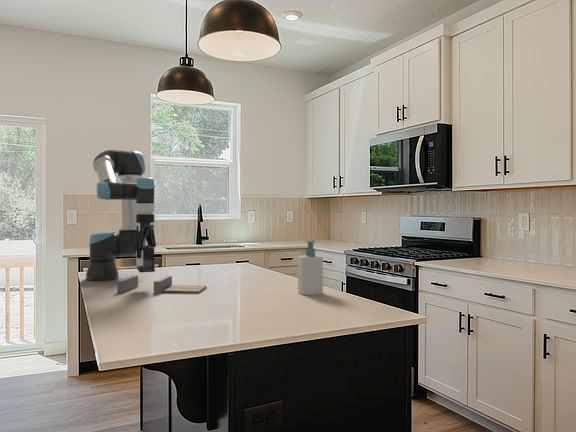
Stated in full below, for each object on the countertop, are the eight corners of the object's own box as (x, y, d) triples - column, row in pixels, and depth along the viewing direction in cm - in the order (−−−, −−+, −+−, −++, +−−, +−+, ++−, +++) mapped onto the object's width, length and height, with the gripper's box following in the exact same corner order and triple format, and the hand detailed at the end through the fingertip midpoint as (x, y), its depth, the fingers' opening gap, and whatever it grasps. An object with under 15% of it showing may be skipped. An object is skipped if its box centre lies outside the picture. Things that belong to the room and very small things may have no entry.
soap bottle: (295, 294, 190) (296, 241, 189) (300, 290, 199) (300, 239, 198) (320, 295, 187) (321, 241, 187) (324, 291, 196) (324, 239, 196)
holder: (132, 286, 208) (132, 275, 208) (171, 286, 207) (171, 275, 207) (117, 293, 192) (117, 281, 192) (159, 293, 191) (159, 281, 191)
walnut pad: (173, 287, 205) (173, 285, 205) (206, 288, 204) (206, 285, 204) (163, 293, 192) (163, 290, 192) (198, 293, 191) (198, 291, 191)
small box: (135, 269, 203) (135, 245, 203) (151, 268, 206) (151, 244, 206) (139, 272, 194) (139, 247, 193) (155, 271, 196) (155, 247, 196)
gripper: (147, 212, 211) (147, 260, 212) (125, 214, 187) (125, 267, 188) (163, 213, 211) (163, 260, 211) (143, 214, 187) (143, 268, 187)
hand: (145, 263), depth 200 cm, fingers closed on small box, 12 cm apart
